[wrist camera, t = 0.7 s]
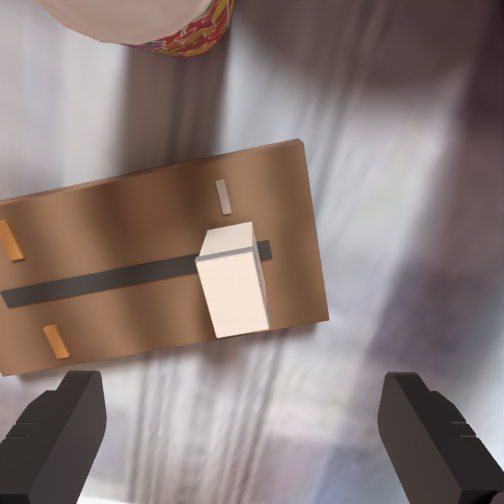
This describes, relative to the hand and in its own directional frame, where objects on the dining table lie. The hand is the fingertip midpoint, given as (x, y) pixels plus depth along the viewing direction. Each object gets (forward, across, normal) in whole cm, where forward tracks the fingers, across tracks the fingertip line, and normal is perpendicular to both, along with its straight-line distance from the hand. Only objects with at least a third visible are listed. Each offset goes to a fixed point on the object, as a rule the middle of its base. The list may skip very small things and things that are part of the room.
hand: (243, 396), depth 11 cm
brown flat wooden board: (+21, +8, +4) cm, 23 cm away
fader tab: (+17, 0, +2) cm, 17 cm away
